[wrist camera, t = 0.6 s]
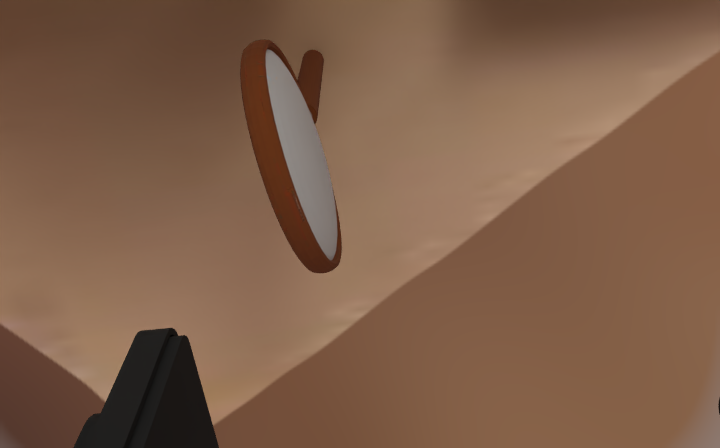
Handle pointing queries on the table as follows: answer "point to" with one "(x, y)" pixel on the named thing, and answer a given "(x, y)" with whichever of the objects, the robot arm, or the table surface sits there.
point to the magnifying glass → (292, 150)
